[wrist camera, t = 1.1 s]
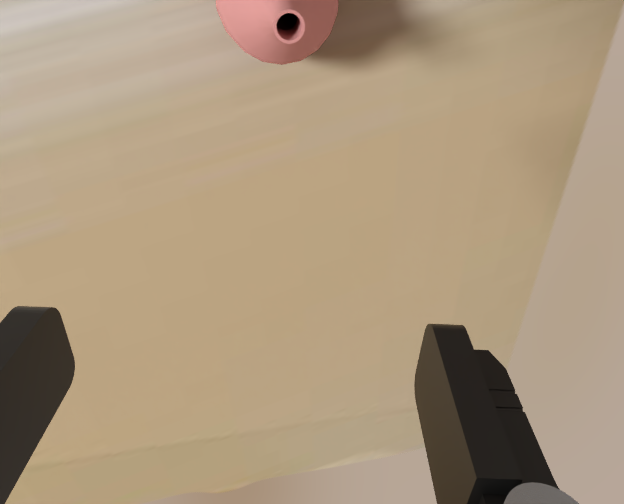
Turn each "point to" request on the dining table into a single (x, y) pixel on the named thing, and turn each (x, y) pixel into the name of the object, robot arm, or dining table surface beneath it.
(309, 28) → the pink vase
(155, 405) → the dining table surface
